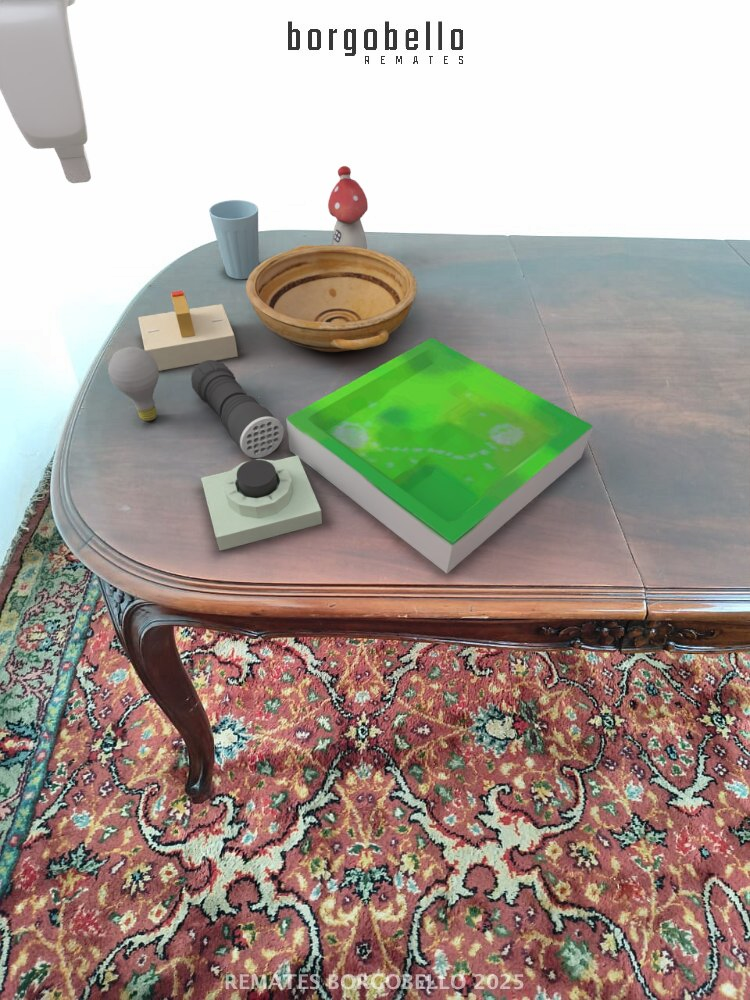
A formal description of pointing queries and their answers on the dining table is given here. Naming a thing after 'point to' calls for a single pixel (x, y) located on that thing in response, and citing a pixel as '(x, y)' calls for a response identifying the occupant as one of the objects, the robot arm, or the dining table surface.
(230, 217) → the cup
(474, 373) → the tray
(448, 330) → the dining table surface
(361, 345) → the ceramic bowl
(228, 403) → the flashlight
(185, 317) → the lock knob
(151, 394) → the light bulb
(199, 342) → the plate
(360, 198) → the decorative ornament
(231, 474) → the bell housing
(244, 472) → the bell button
